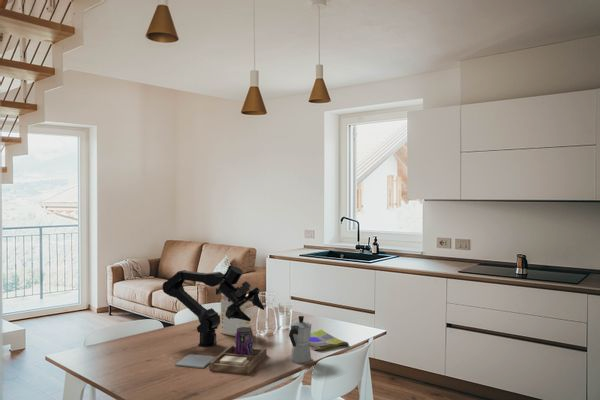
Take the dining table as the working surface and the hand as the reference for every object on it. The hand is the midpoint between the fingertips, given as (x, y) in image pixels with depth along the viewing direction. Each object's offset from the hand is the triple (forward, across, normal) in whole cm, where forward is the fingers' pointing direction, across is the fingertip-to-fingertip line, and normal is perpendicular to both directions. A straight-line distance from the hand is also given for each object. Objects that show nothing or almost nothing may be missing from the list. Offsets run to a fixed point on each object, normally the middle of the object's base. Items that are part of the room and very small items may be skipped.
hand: (257, 314), depth 203 cm
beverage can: (+8, -14, +10) cm, 18 cm away
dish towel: (+25, +22, +14) cm, 36 cm away
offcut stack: (+9, -23, +5) cm, 25 cm away
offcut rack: (+8, -18, +7) cm, 21 cm away
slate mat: (-5, -28, +12) cm, 31 cm away
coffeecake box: (-10, +7, +31) cm, 33 cm away
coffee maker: (+26, -2, +2) cm, 26 cm away
